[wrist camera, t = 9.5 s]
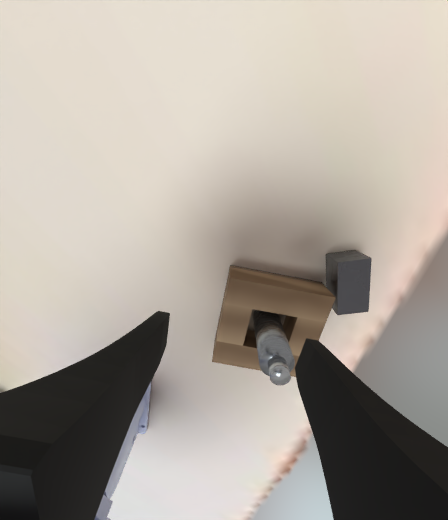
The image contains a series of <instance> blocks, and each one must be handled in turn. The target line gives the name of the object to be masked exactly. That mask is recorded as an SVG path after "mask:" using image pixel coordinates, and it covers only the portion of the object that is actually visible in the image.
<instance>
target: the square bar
mask: <svg viewBox="0 0 448 520" xmlns="http://www.w3.org/2000/svg"><path fill="white" fill-rule="evenodd" d="M370 273H371V258H370V257H368V256H366V255H364V254H362V253H360V252H358V251H356V250H351V251H344V252H337V253H330V254H326V288H327V289H328V290H329V291H330V292H331V293H332V294H333V295H334V296H335V297H336V298H335V301H334V303H333V306H332V309H333V310H334V311H335V312H336V314H337V315H342V314H351V313H360V312H368V309H369V291H370Z"/></svg>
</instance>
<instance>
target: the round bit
mask: <svg viewBox="0 0 448 520" xmlns="http://www.w3.org/2000/svg"><path fill="white" fill-rule="evenodd" d="M253 323H254V330H255V337H256V344H257V351H258V358H259V365H260V369H261V370H262V371H263V372H264V373H265V374H266V375H268V376H270V380H271V381H272V383H274V384H276V385H284V384H287V383H288V382H289V381H290V379H291V375H290V372H291V371H292V370H293V368H294V366H295V360H294V357H293V354H292V351H291V348H290V346H289V343H288V340H287V337H286V334H285V331H284V329H283V326H282V323H281V320H280V317H279V314H277V313H271V312H266V311H260V310H255V311H254V313H253Z"/></svg>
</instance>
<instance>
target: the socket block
mask: <svg viewBox="0 0 448 520" xmlns="http://www.w3.org/2000/svg"><path fill="white" fill-rule="evenodd" d="M335 298H336V297H335V296H334V295H333V294H332V293H331V292H330V291H329V290H328V289H327V288H326V287H325V286H324V284H323V283H322V282H317V281H312V280H306V279H301V278H296V277H290V276H285V275H280V274H274V273H269V272H264V271H258V270H253V269H248V268H242V267H237V266H232V265H230V269H229V274H228V279H227V284H226V288H225V293H224V298H223V303H222V308H221V313H220V318H219V322H218V327H217V332H216V337H215V343H214V351H213V358H212V362H216V363H222V364H227V365H233V366H238V367H244V368H250V369H255V370H261V369H260V365H259V358H258V351H257V344H256V337H255V330H254V323H253V313H254V311H255V310H260V311H266V312H271V313H277V314H279V317H280V320H281V323H282V326H283V329H284V331H285V334H286V337H287V340H288V343H289V346H290V348H291V351H292V354H293V357H294V360H295V366H296V364H297V361H298V358H299V356H300V353H301V350H302V348H303V345H304V343H305V340H306V338H308V339H313V340H319V338H320V335H321V333H322V330H323V328H324V326H325V323H326V321H327V318H328V316H329V313H330V311H331V308H332V306H333V303H334V301H335ZM295 366H294V368H293V370H292V371H291V372H290V375H291V376H294V377H296V373H295ZM261 371H262V370H261Z"/></svg>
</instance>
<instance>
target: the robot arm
mask: <svg viewBox="0 0 448 520" xmlns="http://www.w3.org/2000/svg"><path fill="white" fill-rule="evenodd" d="M169 316H170V313H166V312H161V311H158V312H156V313H155V314H153V315H152V316H151V317H149V318H148V319H147V320H145V321H144V322H143V323H141V324H140V325H139V326H137V327H136V328H135V329H133V330H132V331H130V332H129V333H127V334H126V335H125V336H123V337H121V338H120V339H118V340H117V341H115V342H114V343H112V344H110V345H109V346H107V347H105V348H104V349H102V350H100V351H99V352H97V353H95V354H93V355H91V356H89V357H87V358H85V359H83V360H81V361H79V362H77V363H75V364H73V365H71V366H68V367H66V368H64V369H62V370H60V371H58V372H55V373H53V374H50V375H48V376H46V377H43V378H41V379H38V380H36V381H33V382H30V383H28V384H25V385H23V386H20V387H17V388H14V389H11V390H8V391H5V392H2V393H0V520H110V519H109V518H107V515H108V513H109V510H110V508H111V505H112V501H111V500H110V498H111V496H112V494H113V493H114V491H115V489H116V487H117V484H118V482H119V479H120V477H121V474H122V472H123V469H124V467H125V464H126V462H127V459H128V456H129V454H130V451H131V449H132V446H133V444H134V441H135V439H136V436H137V434H138V433H141V434H144V433H146V431H147V424H148V413H149V401H150V390H151V380H152V378H153V376H154V374H155V372H156V370H157V368H158V366H159V364H160V361H161V358H162V356H163V353H164V350H165V347H166V343H167V334H168V325H169ZM295 373H296V378H297V383H298V388H299V392H300V395H301V398H302V401H303V404H304V407H305V410H306V413H307V416H308V419H309V423H310V426H311V429H312V432H313V435H314V438H315V441H316V444H317V448H318V451H319V455H320V459H321V463H322V467H323V472H324V476H325V480H326V485H327V490H328V494H329V499H330V504H331V508H332V513H333V518H334V520H448V447H447V446H445V445H444V444H442V443H440V442H439V441H438V440H436V439H435V438H433V437H432V436H431V435H429V434H428V433H426V432H425V431H424V430H422V429H421V428H419V427H418V426H416V425H415V424H414V423H412V422H411V421H410V420H408V419H407V418H405V417H404V416H403V415H402V414H400V413H399V412H398V411H397V410H395V409H394V408H393V407H392V406H390V405H389V404H388V403H386V402H385V401H384V400H383V399H381V398H380V397H379V396H378V395H377V394H376V393H375V392H373V391H372V390H371V389H370V388H369V387H368V386H366V385H365V384H364V383H363V382H362V381H361V380H360V379H359V378H358V377H356V376H355V375H354V374H353V373H352V372H351V371H350V370H349V369H348V368H347V367H346V366H345V365H344V364H343V363H342V362H341V361H339V360H338V359H337V358H336V357H335V356H334V355H333V354H332V353H331V352H330V351H329V350H328V349H327V348H326V347H325V346H324V345H323V344H321V343H320V342H319V341H318V340H313V339H308V338H306V340H305V343H304V345H303V348H302V350H301V353H300V356H299V358H298V361H297V364H296V366H295Z"/></svg>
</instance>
